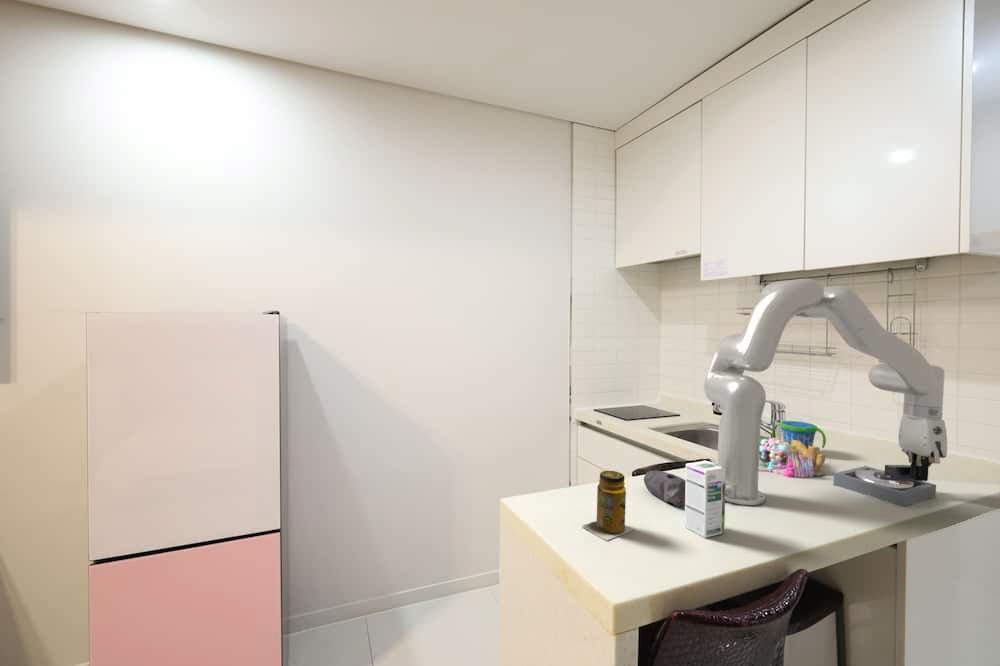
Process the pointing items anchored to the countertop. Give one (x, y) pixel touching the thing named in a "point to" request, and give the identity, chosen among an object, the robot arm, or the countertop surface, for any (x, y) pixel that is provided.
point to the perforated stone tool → (666, 487)
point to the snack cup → (799, 432)
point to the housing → (885, 488)
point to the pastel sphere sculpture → (790, 458)
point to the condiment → (610, 507)
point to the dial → (888, 477)
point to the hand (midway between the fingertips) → (918, 479)
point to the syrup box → (705, 498)
